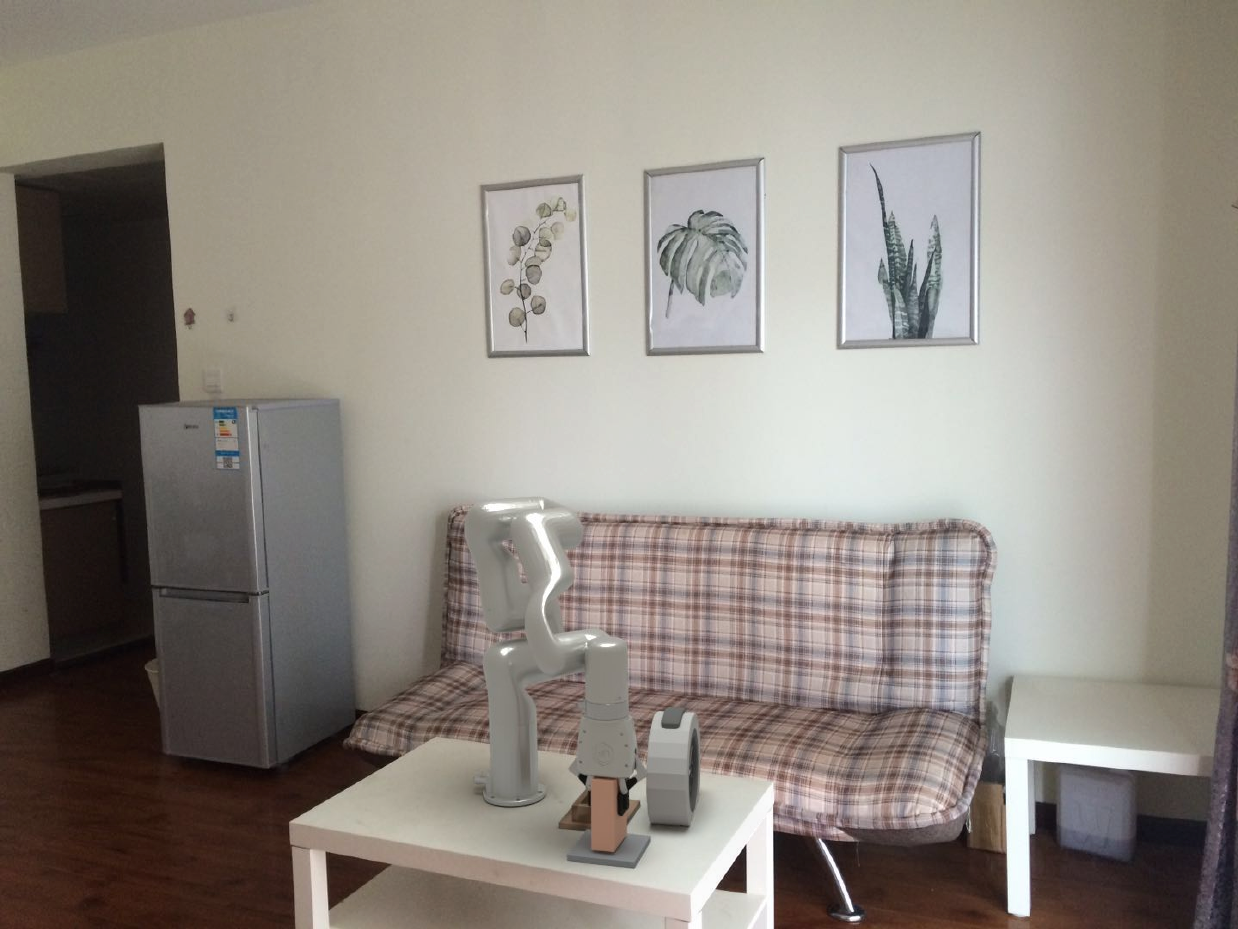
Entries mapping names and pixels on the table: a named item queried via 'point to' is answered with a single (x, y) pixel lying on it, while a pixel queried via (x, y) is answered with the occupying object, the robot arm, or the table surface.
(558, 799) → the table surface
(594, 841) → the salmon pink tall block
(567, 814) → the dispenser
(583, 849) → the mat
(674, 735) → the alarm clock
